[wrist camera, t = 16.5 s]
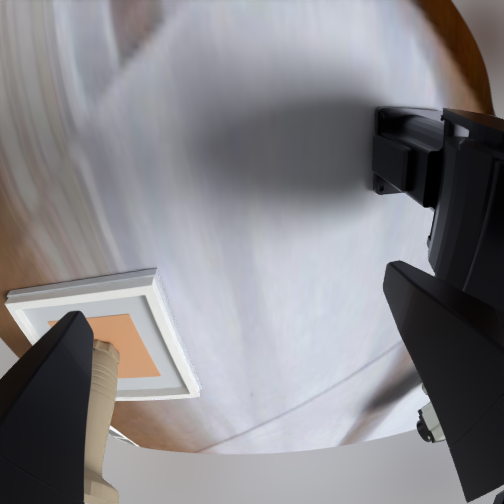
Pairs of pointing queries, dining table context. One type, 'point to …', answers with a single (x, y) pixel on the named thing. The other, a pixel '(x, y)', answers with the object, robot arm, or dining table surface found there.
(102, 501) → the handle
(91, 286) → the white shallow tray
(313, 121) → the dining table surface
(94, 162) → the dining table surface
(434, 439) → the pneumatic valve
